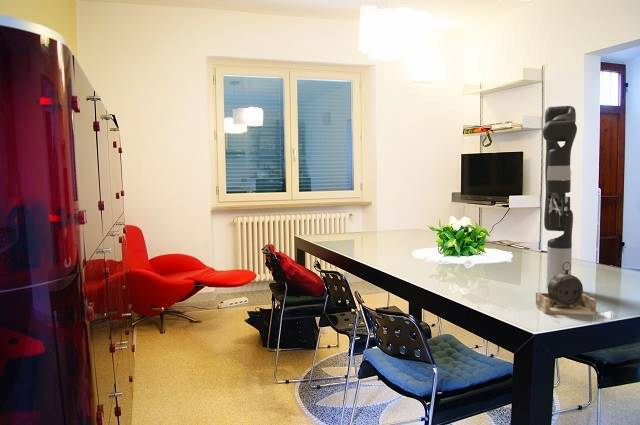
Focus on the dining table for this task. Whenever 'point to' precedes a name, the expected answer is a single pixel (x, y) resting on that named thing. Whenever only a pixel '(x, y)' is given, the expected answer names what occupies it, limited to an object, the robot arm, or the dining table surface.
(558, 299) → the alarm clock
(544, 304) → the clock stand
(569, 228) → the robot arm
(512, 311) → the dining table surface
